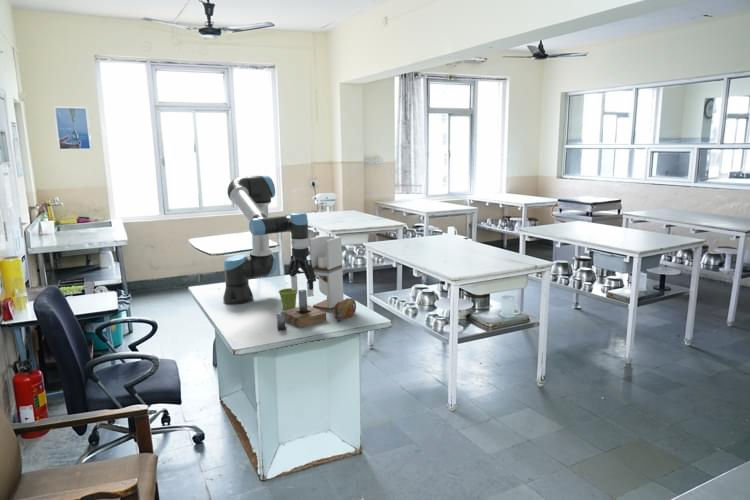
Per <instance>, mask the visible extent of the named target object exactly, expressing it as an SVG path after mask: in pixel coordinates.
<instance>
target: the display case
mask: <svg viewBox="0 0 750 500" xmlns="http://www.w3.org/2000/svg"><path fill="white" fill-rule="evenodd" d="M308 241H309V258H310V259H309V260H311V263H312V267H313V271H314V274H315V276H318V289H319V291H320V293H321V294H323V295H324V296H325V297H326V299H324V300H322V301H320V302H317V303H315V304H313V305H312V307H314V308H316V309H319V310H321V311H324V312H326V313H332V312H333V313H334V306H335V305H336V304H337V303H338V302H340V301H343V300H345V299H344V278H343V277H344V275H343V253H342V252H343V249H342V236H337V235H336V236H334V235H325V234H324V235H319V236H316V237H312V238H310V239H309V238H308Z"/></svg>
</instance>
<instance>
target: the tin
mask: <svg viewBox="0 0 750 500" xmlns="http://www.w3.org/2000/svg"><path fill="white" fill-rule="evenodd" d="M356 310H357V303H356V300H355V299H354V298H349V297H347V298H345V299H344V300H343V301H340V302H338V303H337V304H336V305H335V306H334V311H333V317H334V319H335V320H336V321H341V322H342V321H345V320H347V319H349V318H350V317H353V316H354V315H355V313H356Z"/></svg>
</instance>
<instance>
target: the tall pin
mask: <svg viewBox="0 0 750 500" xmlns="http://www.w3.org/2000/svg"><path fill="white" fill-rule="evenodd" d="M297 293H298V307H299V310H300V314H306V313H308V311H307V305H308V297H307V289H299V290H298V292H297Z"/></svg>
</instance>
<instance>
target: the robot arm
mask: <svg viewBox="0 0 750 500" xmlns="http://www.w3.org/2000/svg"><path fill="white" fill-rule="evenodd" d="M227 195H228V198H229V200H230V201H231V203H233V204H235V205H236V206H237V207H238V208H239V210H240V211H241V212H242V214H243V215H244V216H245V218H246V219H247V220H248V221H249V222H248V229H249V232H250V233H251V239H252V242H251V243H252V249H251V250H250V252H249V256H247V255H246V254H236V255H233V256H229V257H227V258H226V259H225V260H224V262H223V270H224V282H225V290H224V294H223V298H222V299H223V303H224V304H227V305H240V304H246V303H250V302H252V301H253V300H254V295H253V294H254V293H253V292H252V290H251V287H250V285H249V283H250V282H249V280H251V279H258V278H267V277H269V276H272V275H274V274H275V272H276V270H277V257H276V255H275V254H273V251H272V250H271V249H270V238H269V237H270V235H271V234H281V233H290V237H291V241H290V242H291V247H292V248H291V256H290V261H289V267H288V269H287V270H288V271H287V274H288V275H289V276H290V283H291V284H290V285H291V288H292V291H293V290H298V287H299V286H298V274H297V273H298V271H299V269H301V270H302V271H303V273H304V276H305V278H306V280H307V281H306V293H307V298H309V297H314V283H315V282H317V279H316V275H315V274H314V271H313V267H312V263H311V260H310V259H308V256H310V242H309V220H308V214H307V213H306V212H299V211H298V212H297V211H296V212H292V213H290V214H289V213H287V214H286V213H285V214H282V215H277V216H269V205H270V204H271V203H272V199H273V198H274V197H275V196H276V187H275V183H274V181H273V179H272V177H270V176H269V175H263V174H262V175H261V174H260V175H259V174H258V175H247V176H243V175H242V176H237V177H235V178H234V179H232V181H230V183H229V184H228V187H227ZM298 291H299V290H298Z"/></svg>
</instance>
